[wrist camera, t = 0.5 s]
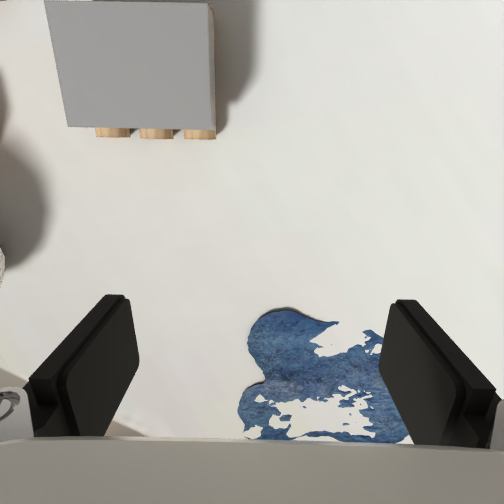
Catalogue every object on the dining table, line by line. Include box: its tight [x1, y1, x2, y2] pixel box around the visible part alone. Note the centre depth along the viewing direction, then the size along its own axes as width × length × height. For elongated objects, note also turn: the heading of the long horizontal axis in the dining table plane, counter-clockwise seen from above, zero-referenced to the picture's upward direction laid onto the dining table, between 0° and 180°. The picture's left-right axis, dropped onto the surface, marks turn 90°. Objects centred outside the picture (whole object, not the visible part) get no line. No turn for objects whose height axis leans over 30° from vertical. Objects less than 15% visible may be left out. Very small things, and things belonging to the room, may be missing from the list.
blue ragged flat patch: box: [238, 310, 409, 444], centre depth 50 cm, size 27×29×1 cm
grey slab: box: [44, 0, 216, 130], centre depth 30 cm, size 10×14×4 cm
